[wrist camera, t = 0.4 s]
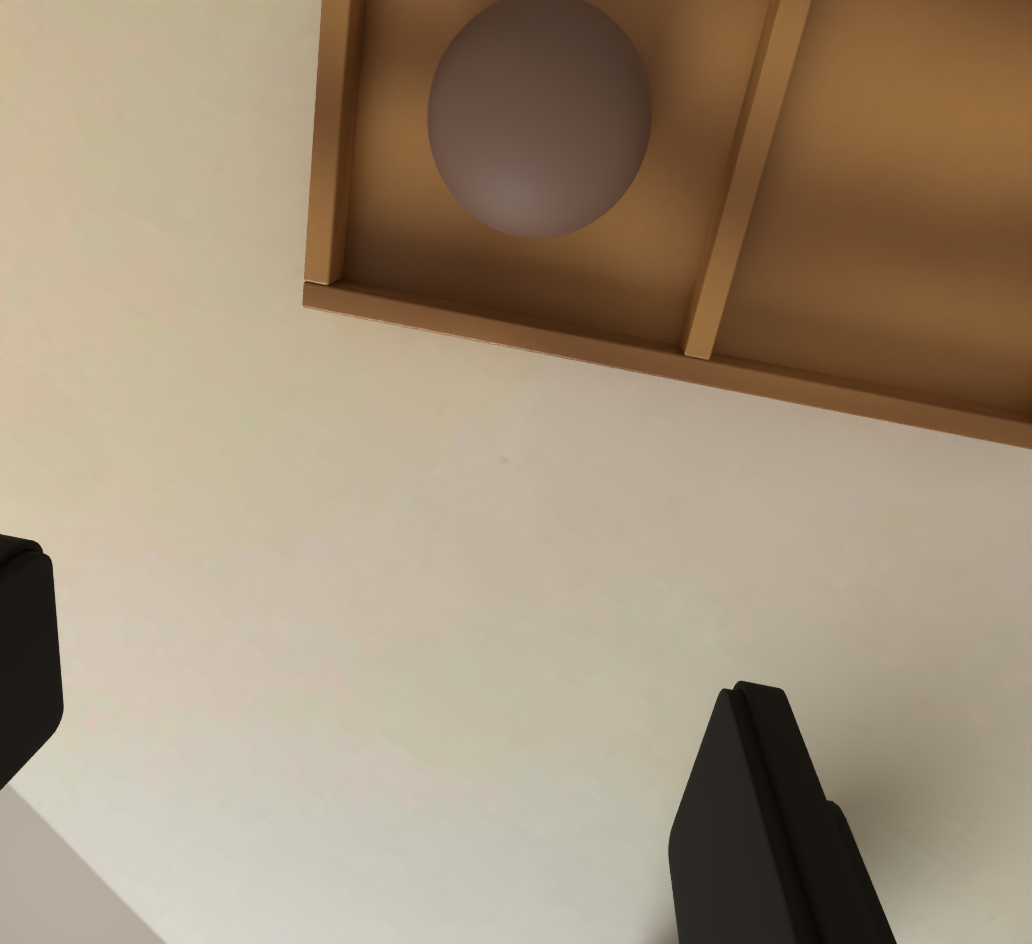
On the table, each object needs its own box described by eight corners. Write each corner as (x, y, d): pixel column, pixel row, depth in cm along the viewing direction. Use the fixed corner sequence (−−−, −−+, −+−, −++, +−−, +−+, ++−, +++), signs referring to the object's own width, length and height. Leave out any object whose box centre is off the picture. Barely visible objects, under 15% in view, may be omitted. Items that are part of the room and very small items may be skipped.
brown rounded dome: (482, 260, 23) (463, 277, 20) (411, 59, 21) (374, 36, 18) (669, 191, 22) (687, 195, 18) (611, -28, 20) (617, -73, 16)
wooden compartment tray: (357, -172, 20) (333, -207, 18) (1258, -2, 20) (1329, -20, 18) (322, 297, 25) (301, 307, 23) (1045, 438, 24) (1082, 459, 23)
